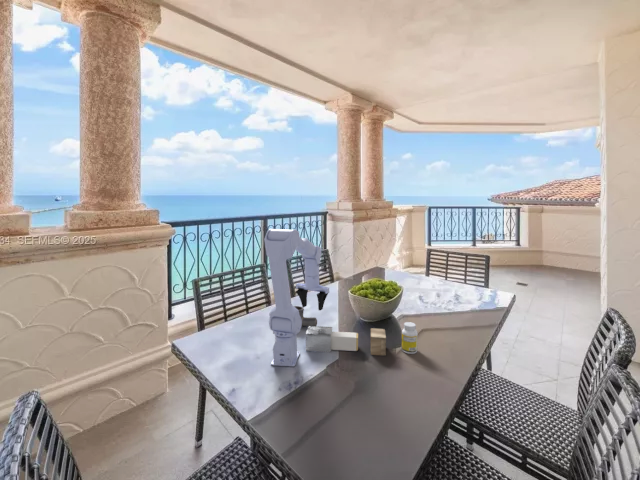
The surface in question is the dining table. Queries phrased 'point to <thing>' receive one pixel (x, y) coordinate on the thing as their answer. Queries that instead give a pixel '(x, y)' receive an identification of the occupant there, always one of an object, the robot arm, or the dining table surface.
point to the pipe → (306, 321)
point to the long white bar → (344, 341)
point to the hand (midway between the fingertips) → (312, 308)
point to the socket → (378, 342)
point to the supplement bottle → (409, 338)
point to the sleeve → (318, 339)
